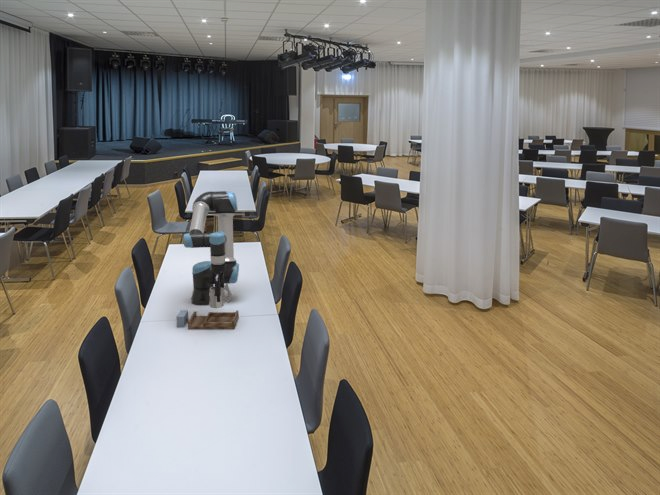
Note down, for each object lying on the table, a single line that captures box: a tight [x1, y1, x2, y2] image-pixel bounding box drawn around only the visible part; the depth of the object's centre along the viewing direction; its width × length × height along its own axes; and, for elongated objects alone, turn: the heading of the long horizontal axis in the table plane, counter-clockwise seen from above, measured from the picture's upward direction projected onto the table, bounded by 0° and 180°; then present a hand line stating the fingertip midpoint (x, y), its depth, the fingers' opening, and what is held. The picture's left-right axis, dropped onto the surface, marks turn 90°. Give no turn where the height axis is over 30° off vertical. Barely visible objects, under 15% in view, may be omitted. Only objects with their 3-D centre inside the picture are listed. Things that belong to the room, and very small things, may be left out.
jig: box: [187, 310, 240, 330], centre depth 290 cm, size 24×15×4 cm, turn 91°
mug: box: [208, 283, 232, 309], centre depth 288 cm, size 8×12×12 cm, turn 110°
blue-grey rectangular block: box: [175, 309, 190, 328], centre depth 290 cm, size 9×4×6 cm, turn 1°
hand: (220, 304), depth 288 cm, fingers closed on mug, 7 cm apart
